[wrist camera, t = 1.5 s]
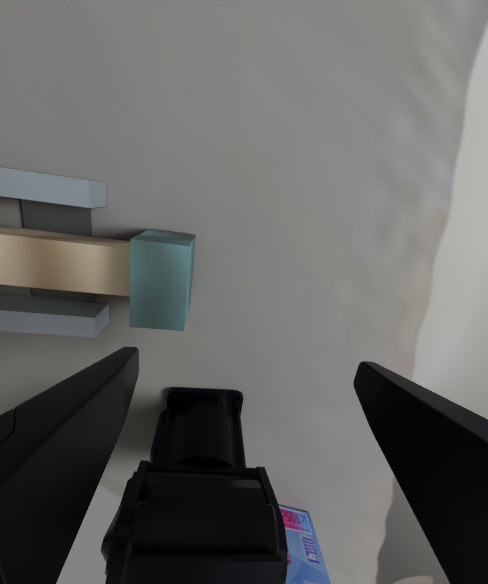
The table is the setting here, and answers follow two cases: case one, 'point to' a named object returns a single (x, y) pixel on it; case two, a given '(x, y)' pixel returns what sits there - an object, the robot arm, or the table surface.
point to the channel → (61, 219)
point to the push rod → (107, 269)
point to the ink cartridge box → (302, 549)
